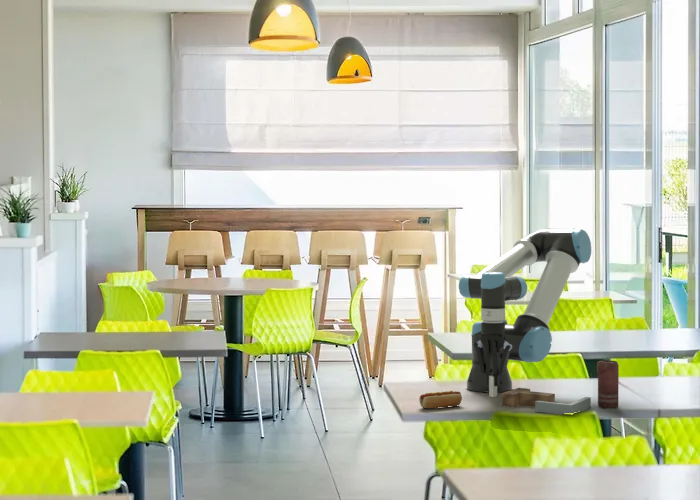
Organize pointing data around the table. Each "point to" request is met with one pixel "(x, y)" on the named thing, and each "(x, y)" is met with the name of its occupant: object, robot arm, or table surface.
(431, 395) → the food
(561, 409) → the bracket
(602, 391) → the can
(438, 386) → the table surface
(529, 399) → the t block
